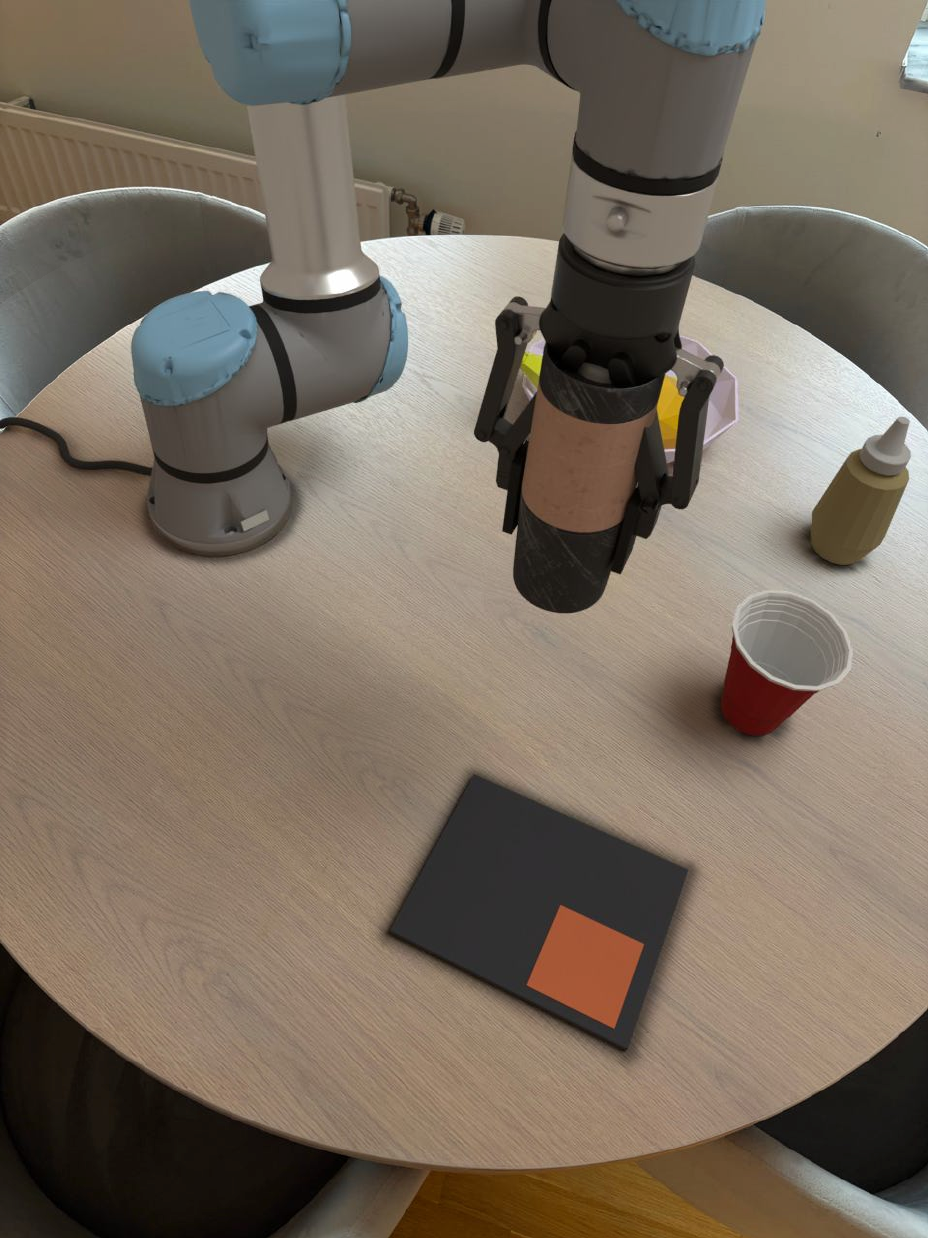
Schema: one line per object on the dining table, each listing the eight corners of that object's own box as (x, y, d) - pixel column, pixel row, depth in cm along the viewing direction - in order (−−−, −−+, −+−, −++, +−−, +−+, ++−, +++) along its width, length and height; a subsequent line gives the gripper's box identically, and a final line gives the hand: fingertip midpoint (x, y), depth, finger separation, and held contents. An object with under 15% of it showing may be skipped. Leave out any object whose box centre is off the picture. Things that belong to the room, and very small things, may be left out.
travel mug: (604, 625, 69) (666, 400, 54) (501, 606, 70) (534, 378, 54) (613, 552, 74) (672, 327, 59) (517, 535, 75) (551, 307, 59)
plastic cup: (786, 781, 87) (835, 706, 78) (679, 724, 90) (713, 646, 81) (823, 700, 93) (872, 623, 84) (721, 650, 96) (758, 570, 87)
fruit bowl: (724, 373, 127) (749, 297, 119) (724, 510, 110) (754, 433, 101) (518, 340, 129) (528, 263, 120) (486, 469, 112) (496, 390, 103)
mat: (389, 933, 75) (389, 930, 75) (473, 777, 85) (474, 773, 84) (626, 1051, 71) (628, 1049, 70) (686, 872, 80) (688, 869, 80)
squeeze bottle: (877, 537, 109) (949, 410, 95) (865, 583, 104) (940, 457, 90) (807, 513, 111) (869, 385, 97) (793, 557, 106) (855, 429, 92)
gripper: (428, 221, 51) (416, 525, 69) (802, 330, 47) (688, 626, 64) (483, 168, 56) (460, 465, 73) (829, 262, 51) (717, 556, 69)
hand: (566, 540), depth 69 cm, fingers closed on travel mug, 8 cm apart
